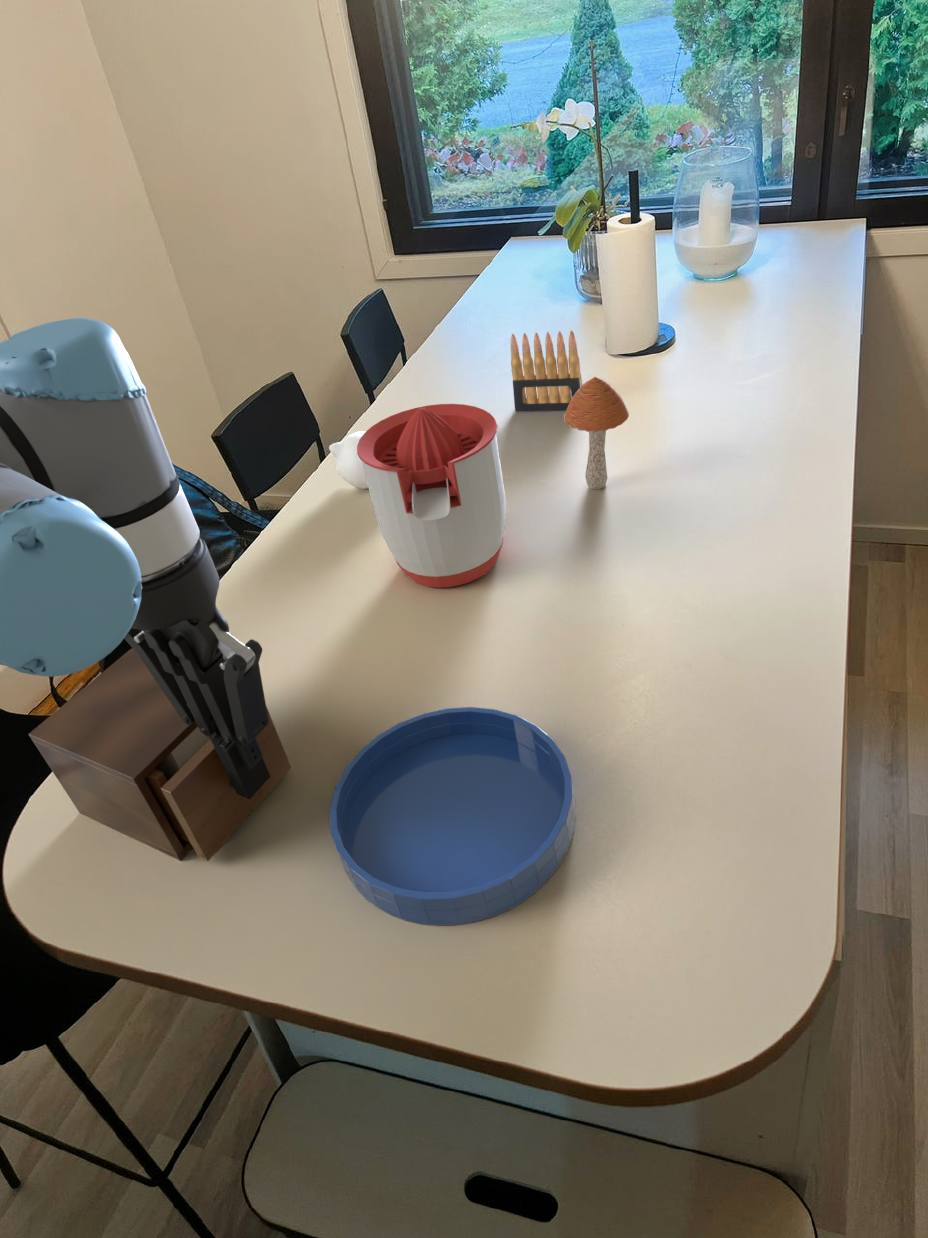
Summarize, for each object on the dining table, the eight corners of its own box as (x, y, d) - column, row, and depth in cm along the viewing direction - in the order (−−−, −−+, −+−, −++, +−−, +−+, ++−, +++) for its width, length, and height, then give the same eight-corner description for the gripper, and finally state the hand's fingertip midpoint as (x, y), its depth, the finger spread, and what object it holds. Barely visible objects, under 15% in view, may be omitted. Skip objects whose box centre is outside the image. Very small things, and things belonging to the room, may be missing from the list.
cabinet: (272, 760, 83) (238, 678, 77) (180, 861, 75) (133, 779, 69) (174, 723, 90) (134, 645, 84) (79, 813, 82) (27, 734, 76)
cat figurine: (413, 416, 117) (329, 419, 120) (404, 487, 114) (318, 488, 117) (429, 449, 126) (350, 451, 128) (421, 516, 122) (340, 517, 125)
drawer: (301, 771, 80) (273, 701, 75) (218, 866, 73) (181, 797, 68) (196, 732, 87) (164, 666, 82) (110, 816, 80) (68, 750, 74)
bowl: (505, 966, 63) (498, 939, 61) (292, 872, 73) (280, 845, 70) (612, 770, 76) (610, 742, 74) (420, 712, 85) (413, 685, 83)
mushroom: (644, 485, 112) (641, 375, 103) (594, 508, 110) (586, 397, 101) (606, 464, 118) (600, 358, 109) (558, 486, 116) (547, 378, 107)
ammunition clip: (585, 404, 134) (579, 327, 127) (583, 409, 133) (576, 332, 125) (517, 406, 137) (508, 331, 130) (514, 411, 136) (505, 336, 129)
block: (199, 807, 77) (169, 748, 73) (168, 794, 79) (137, 736, 75) (230, 775, 80) (202, 717, 75) (199, 763, 82) (170, 705, 77)
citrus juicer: (383, 618, 99) (341, 460, 86) (391, 536, 112) (356, 390, 100) (520, 599, 97) (497, 437, 85) (512, 519, 111) (490, 369, 99)
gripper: (255, 540, 59) (340, 776, 73) (126, 512, 65) (228, 734, 79) (176, 605, 54) (284, 844, 68) (45, 568, 60) (169, 794, 74)
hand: (253, 785), depth 74 cm, fingers closed
